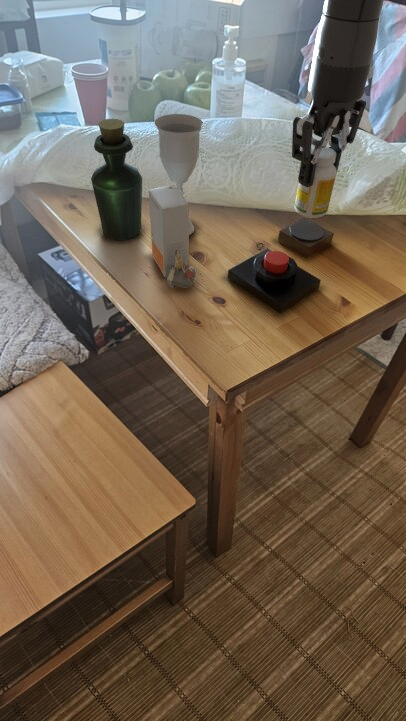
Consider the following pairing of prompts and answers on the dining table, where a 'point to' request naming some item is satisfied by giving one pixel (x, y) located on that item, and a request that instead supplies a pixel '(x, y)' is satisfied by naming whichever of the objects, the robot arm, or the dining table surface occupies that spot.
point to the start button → (276, 262)
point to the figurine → (180, 273)
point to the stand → (305, 237)
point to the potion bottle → (117, 183)
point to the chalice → (179, 147)
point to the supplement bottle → (318, 187)
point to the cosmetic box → (168, 226)
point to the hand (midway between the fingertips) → (317, 178)
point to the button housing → (273, 282)
